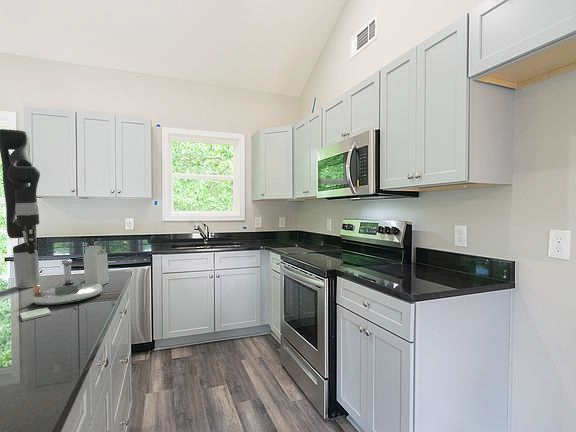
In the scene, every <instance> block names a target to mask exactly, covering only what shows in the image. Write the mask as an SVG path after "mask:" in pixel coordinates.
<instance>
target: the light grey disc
mask: <svg viewBox="0 0 576 432" xmlns="http://www.w3.org/2000/svg"><path fill="white" fill-rule="evenodd" d="M32 289H33V290H32V291H33V298H32V300H33V303H34V304H35V305H39V306H53V305H55V306H57V305H65V304H69V303H75V302H79V301H84V300H87V299H91V298H93V297H95V296H98V295H99V294H101V293H102V292H103V285H100V284H95V283H85V282H82V280H76V281H72V285H65V282H60V283H58V284H57V285H56V286H55V287H52V288H50V289H46V290H43V291H41V284H40V285H34V286H33V287H32Z"/></svg>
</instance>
